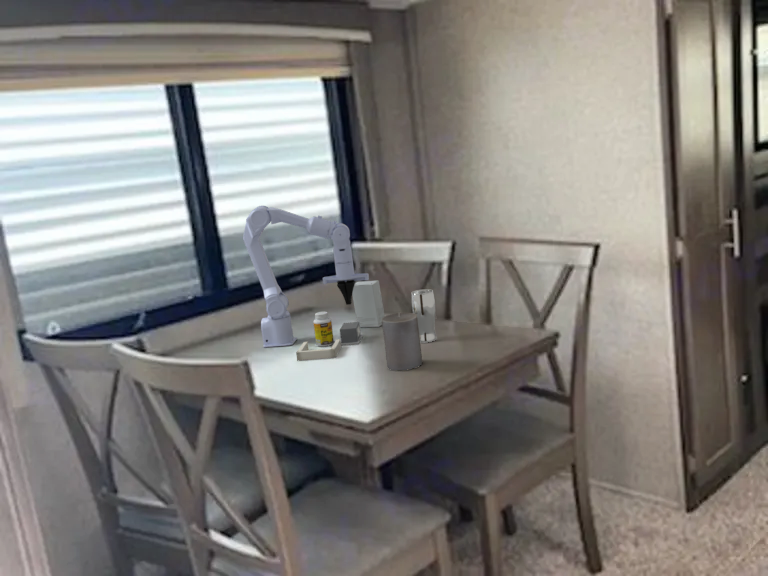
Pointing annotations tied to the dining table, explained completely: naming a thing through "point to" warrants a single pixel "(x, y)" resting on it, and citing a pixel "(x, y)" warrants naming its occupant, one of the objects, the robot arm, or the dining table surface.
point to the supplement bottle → (323, 329)
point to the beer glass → (424, 314)
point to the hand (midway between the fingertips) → (348, 303)
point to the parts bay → (318, 352)
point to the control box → (350, 334)
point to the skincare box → (368, 303)
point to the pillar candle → (402, 341)
